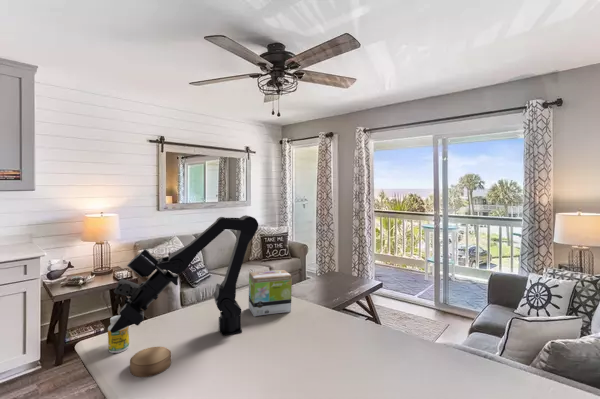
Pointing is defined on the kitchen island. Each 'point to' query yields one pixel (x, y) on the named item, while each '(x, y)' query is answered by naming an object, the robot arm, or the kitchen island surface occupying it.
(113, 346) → the supplement bottle
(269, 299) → the tea box
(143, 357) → the pedestal
